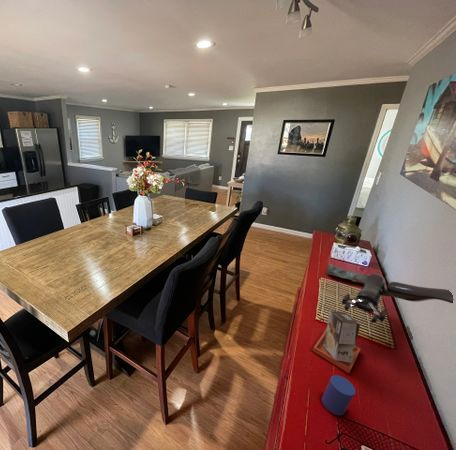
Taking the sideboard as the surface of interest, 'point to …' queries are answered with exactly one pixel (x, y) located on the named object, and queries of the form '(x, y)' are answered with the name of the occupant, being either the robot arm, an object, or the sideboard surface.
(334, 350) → the coffee box
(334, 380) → the blue tin
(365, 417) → the sideboard surface
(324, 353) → the tray
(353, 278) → the dark stone rod
